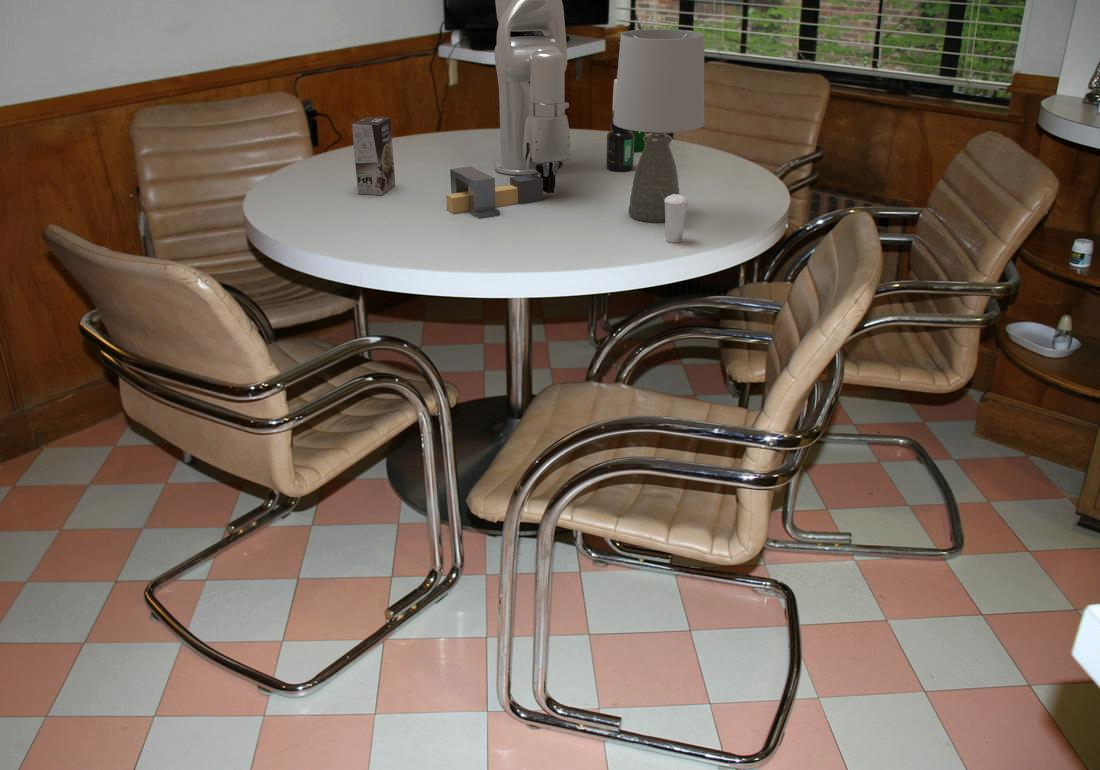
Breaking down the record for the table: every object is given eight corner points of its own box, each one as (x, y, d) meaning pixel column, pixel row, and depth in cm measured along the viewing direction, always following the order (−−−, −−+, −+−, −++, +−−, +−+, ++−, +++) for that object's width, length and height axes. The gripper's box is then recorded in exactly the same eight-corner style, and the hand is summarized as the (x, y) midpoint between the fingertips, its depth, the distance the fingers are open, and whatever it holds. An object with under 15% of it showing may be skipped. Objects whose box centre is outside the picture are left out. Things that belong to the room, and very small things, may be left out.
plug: (533, 195, 227) (533, 173, 224) (543, 200, 223) (542, 178, 221) (445, 209, 217) (444, 186, 215) (454, 214, 214) (453, 191, 211)
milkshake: (656, 237, 198) (658, 188, 194) (682, 236, 199) (685, 187, 194) (660, 244, 194) (662, 194, 190) (687, 243, 195) (690, 193, 190)
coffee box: (383, 195, 227) (377, 124, 220) (356, 194, 228) (350, 123, 221) (396, 185, 235) (391, 116, 228) (371, 184, 236) (365, 115, 229)
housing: (468, 197, 225) (466, 164, 222) (500, 215, 213) (499, 180, 209) (448, 200, 223) (446, 167, 220) (479, 218, 211) (477, 183, 207)
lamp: (715, 215, 212) (728, 33, 196) (659, 234, 200) (668, 42, 184) (649, 198, 224) (656, 26, 208) (593, 215, 212) (595, 34, 196)
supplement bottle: (634, 172, 246) (635, 123, 240) (606, 172, 246) (607, 123, 241) (632, 165, 252) (634, 117, 247) (605, 165, 252) (606, 117, 247)
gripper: (567, 104, 224) (567, 184, 232) (509, 110, 217) (511, 192, 225) (585, 109, 218) (584, 191, 226) (526, 116, 211) (527, 200, 219)
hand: (548, 191), depth 226 cm, fingers closed
